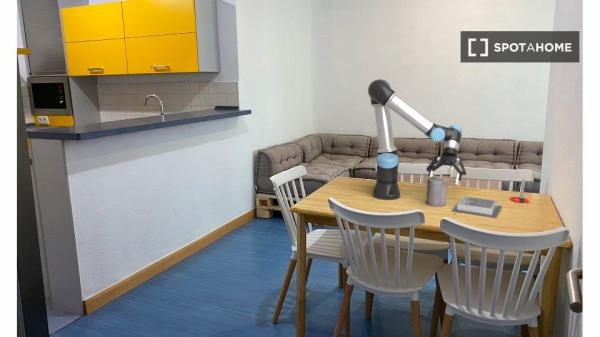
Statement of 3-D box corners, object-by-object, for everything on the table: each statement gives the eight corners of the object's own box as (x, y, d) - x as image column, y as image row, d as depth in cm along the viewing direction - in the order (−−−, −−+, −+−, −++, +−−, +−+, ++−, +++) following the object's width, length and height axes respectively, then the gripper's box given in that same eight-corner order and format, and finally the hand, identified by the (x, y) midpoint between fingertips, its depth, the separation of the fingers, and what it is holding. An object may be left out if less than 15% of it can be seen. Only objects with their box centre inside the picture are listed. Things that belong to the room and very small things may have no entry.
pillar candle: (424, 201, 219) (425, 174, 215) (443, 201, 218) (444, 174, 214) (428, 207, 209) (429, 179, 206) (448, 207, 208) (449, 178, 205)
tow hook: (507, 198, 222) (513, 202, 213) (509, 175, 220) (515, 178, 211) (523, 199, 221) (530, 203, 212) (525, 175, 219) (532, 179, 210)
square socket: (452, 211, 201) (452, 204, 201) (460, 202, 216) (460, 195, 215) (496, 218, 191) (497, 210, 190) (501, 207, 205) (502, 200, 205)
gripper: (475, 156, 219) (468, 190, 210) (428, 152, 232) (420, 184, 223) (474, 148, 213) (467, 182, 204) (426, 145, 226) (417, 177, 217)
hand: (442, 183), depth 213 cm, fingers open, 13 cm apart
